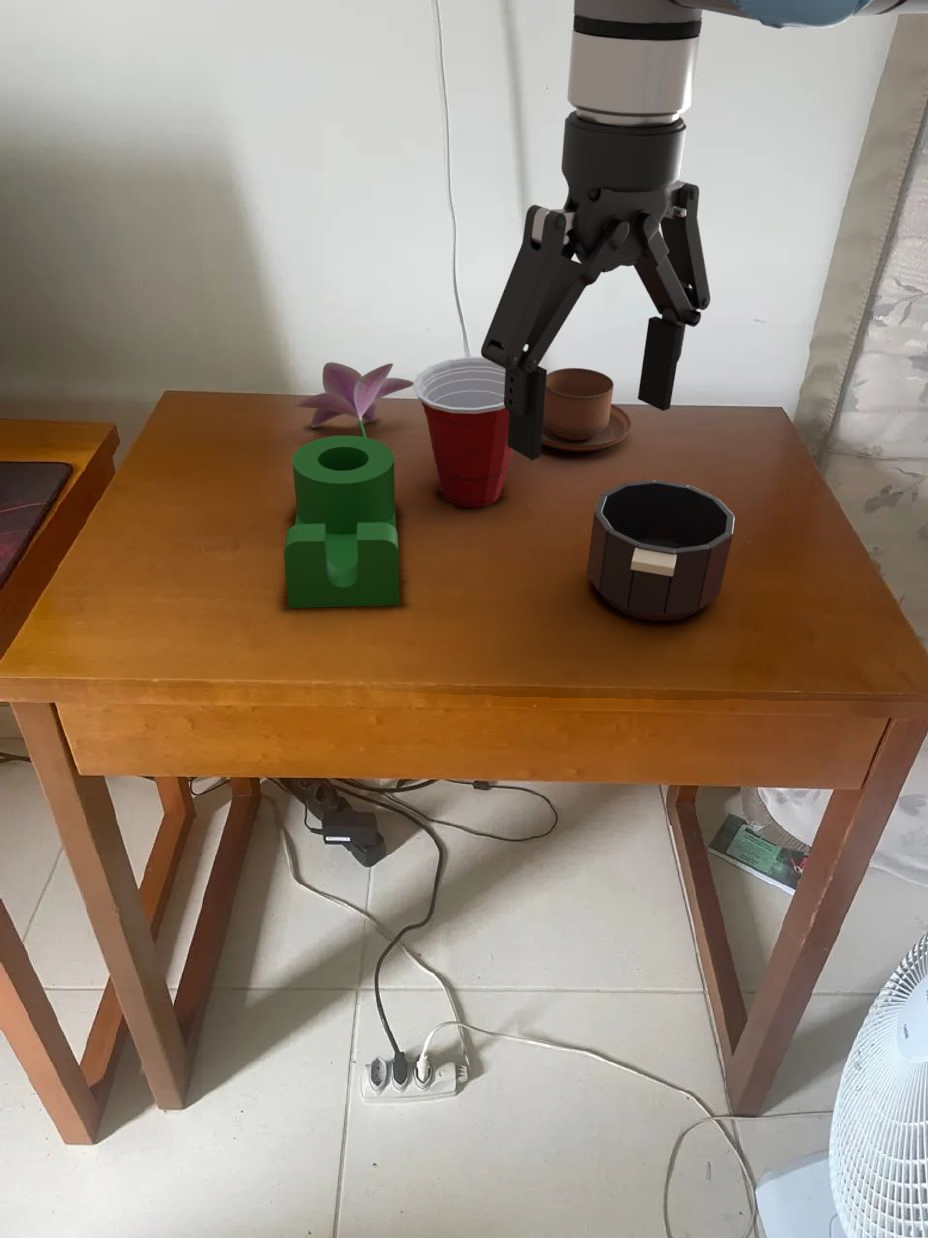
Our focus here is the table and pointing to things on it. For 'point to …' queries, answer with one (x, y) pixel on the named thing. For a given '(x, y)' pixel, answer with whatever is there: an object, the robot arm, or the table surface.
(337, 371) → the lily
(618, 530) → the cooking pot
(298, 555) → the green bracket
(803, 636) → the table surface
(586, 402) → the cup and saucer
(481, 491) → the plastic cup
